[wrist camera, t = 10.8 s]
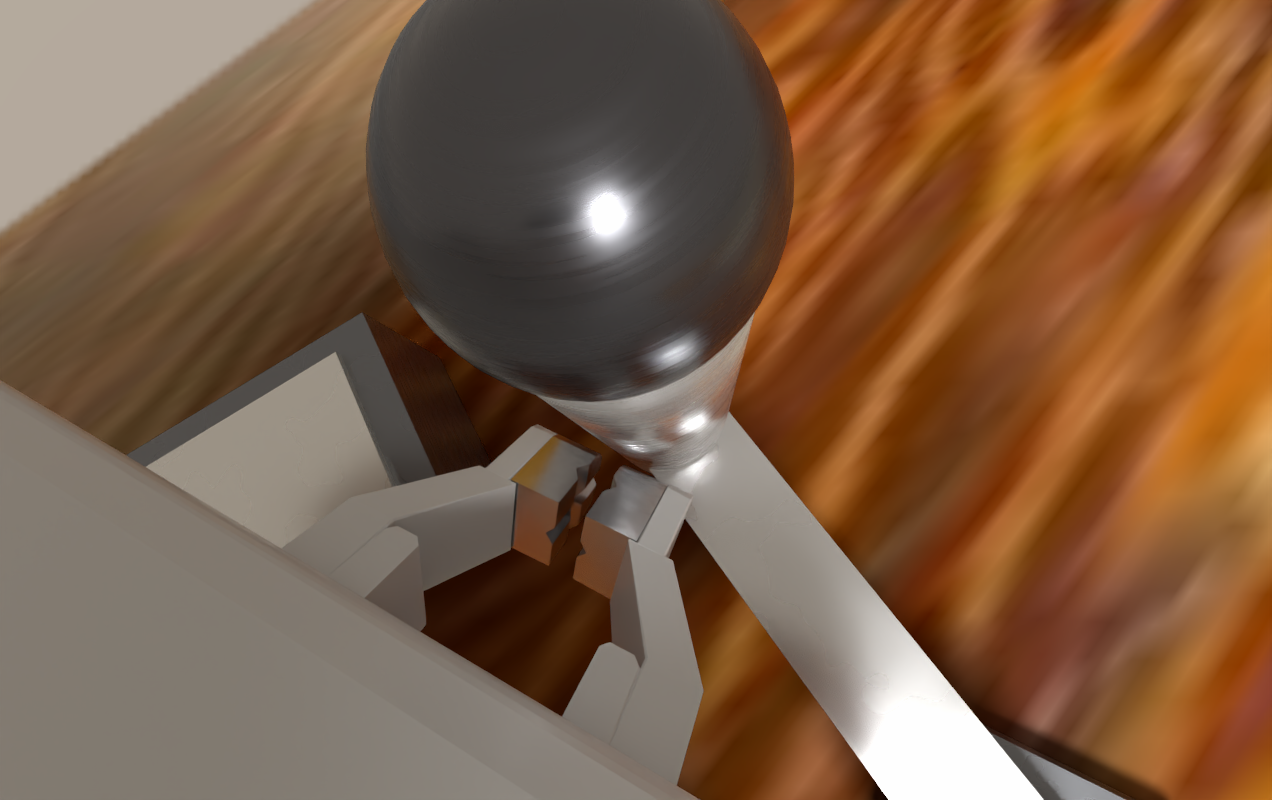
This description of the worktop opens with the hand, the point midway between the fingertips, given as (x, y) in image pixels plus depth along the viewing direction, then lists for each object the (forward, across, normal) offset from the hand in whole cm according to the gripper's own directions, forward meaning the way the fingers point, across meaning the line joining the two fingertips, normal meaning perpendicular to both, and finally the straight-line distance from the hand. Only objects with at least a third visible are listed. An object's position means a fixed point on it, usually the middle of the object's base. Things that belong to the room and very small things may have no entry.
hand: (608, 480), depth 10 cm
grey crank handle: (+2, -6, +4) cm, 8 cm away
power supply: (+1, +9, +7) cm, 11 cm away
